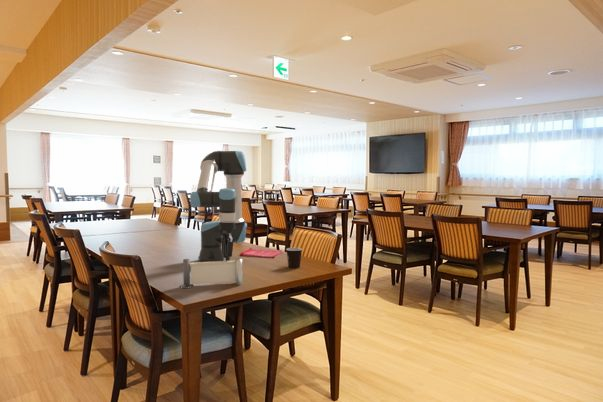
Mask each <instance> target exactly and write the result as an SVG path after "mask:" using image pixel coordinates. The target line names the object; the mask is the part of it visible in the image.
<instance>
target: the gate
mask: <svg viewBox="0 0 603 402" xmlns="http://www.w3.org/2000/svg"><path fill="white" fill-rule="evenodd" d="M236 259H237V258H235V259H233V260H230V261H214V262H199V261H198V262H197V261H195V262H190V260H191V259H189V258H183V259H182V264H183V265H182V269H183V270H182V271H183V272H182V273H183V275H182V276H183V284H184V285H185V286H187V285H190V284H193V285H201V284H202V285H205V284H218V283H232V282H235V284H236Z"/></svg>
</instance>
